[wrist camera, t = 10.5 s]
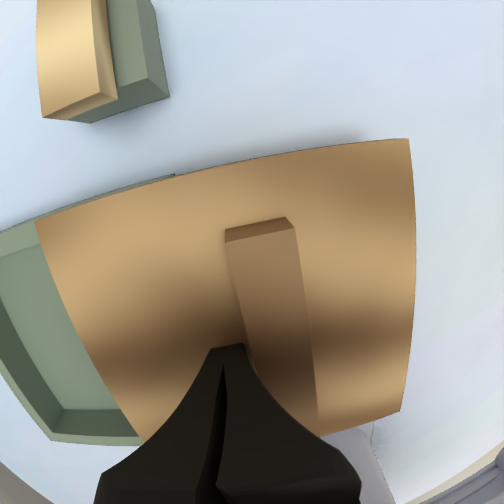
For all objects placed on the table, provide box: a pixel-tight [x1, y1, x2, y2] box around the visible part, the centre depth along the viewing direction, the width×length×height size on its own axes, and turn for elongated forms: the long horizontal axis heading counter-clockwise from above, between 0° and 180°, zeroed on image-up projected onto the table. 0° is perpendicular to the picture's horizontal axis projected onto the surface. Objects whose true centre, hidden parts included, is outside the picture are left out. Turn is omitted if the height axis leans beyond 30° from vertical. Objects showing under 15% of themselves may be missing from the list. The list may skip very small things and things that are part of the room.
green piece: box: [0, 173, 175, 446], centre depth 14 cm, size 14×14×3 cm
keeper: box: [68, 0, 170, 123], centre depth 9 cm, size 5×4×4 cm
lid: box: [34, 139, 416, 443], centre depth 11 cm, size 14×14×2 cm
